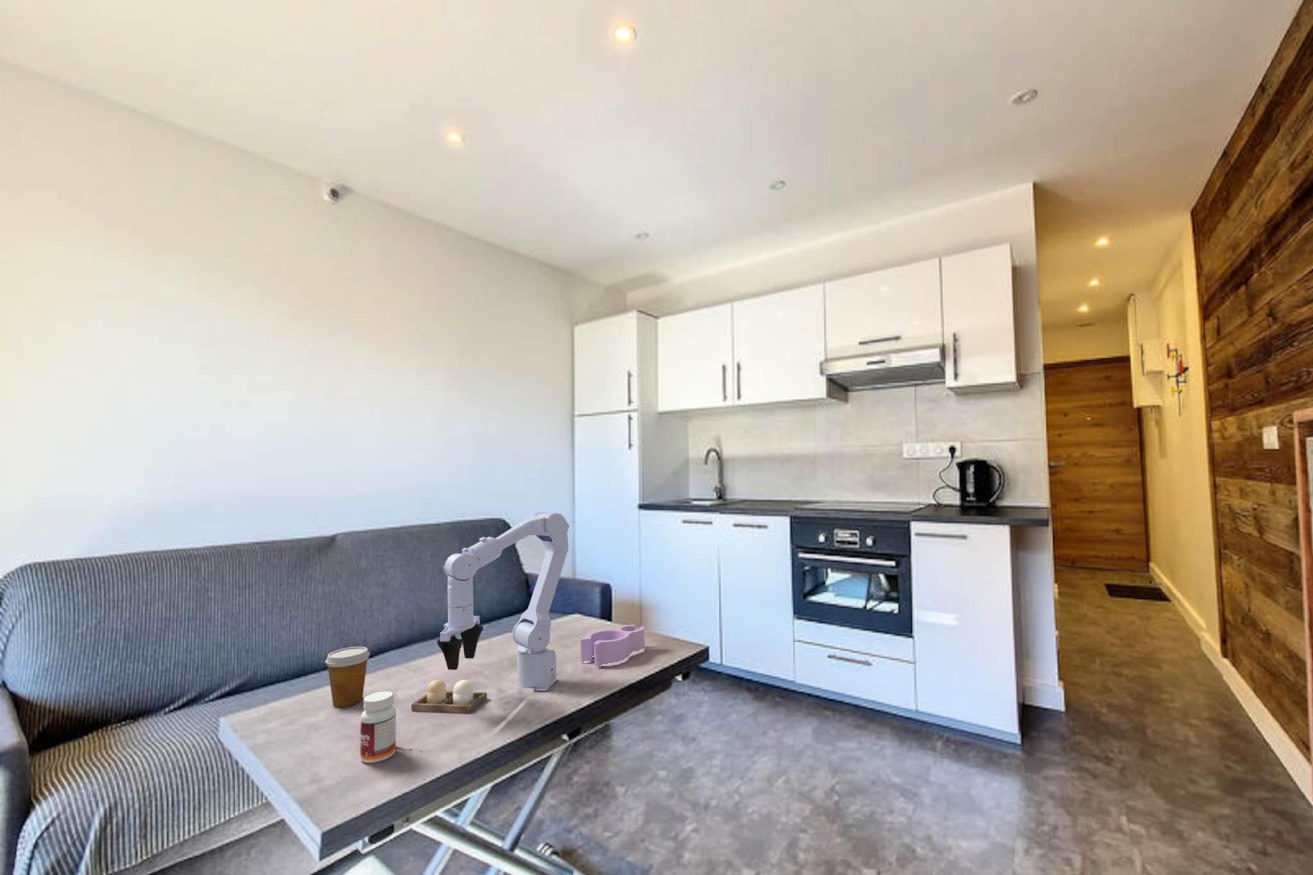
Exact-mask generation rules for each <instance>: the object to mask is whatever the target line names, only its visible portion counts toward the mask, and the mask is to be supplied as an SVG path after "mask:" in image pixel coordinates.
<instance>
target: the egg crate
mask: <svg viewBox="0 0 1313 875" xmlns="http://www.w3.org/2000/svg"><path fill="white" fill-rule="evenodd" d="M486 700H488V692H483V691H482V692H481V691H480V692H479V691H473V702H472V703H471V704H469V705H453V690H452V691H451V690H450V691H449V690H446V701H444V702H443V703H442V704H427V693H426V694H425V695H423V696H421V697H420V698H419V699H417V700H415V701H414V702H413V703H412V704H410V705H411V712H424V713H425V712H426V713H447V714H449V713H450V714H469V715H470V714H471V713H472V712H474V711H475V710H476V709H477V708H478V707H479V706H481V704H483V703H484V702H485V701H486Z"/></svg>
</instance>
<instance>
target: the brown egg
mask: <svg viewBox="0 0 1313 875" xmlns="http://www.w3.org/2000/svg"><path fill="white" fill-rule="evenodd" d="M446 691H447V686H446V682H444V680H442V679H434V680H432V681H431V682H429V684H428V685H427V687H426V694H427V704H442V703H443V702H444V701H446Z"/></svg>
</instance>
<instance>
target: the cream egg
mask: <svg viewBox="0 0 1313 875" xmlns="http://www.w3.org/2000/svg"><path fill="white" fill-rule="evenodd" d="M452 691H453V704H452V705H469V704H471V703H472V702H473V692H474V687H473V684H472V683H471V681H470V680H467V679H462V680H459V681H458V682H456V683H455V685H453V689H452Z"/></svg>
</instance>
